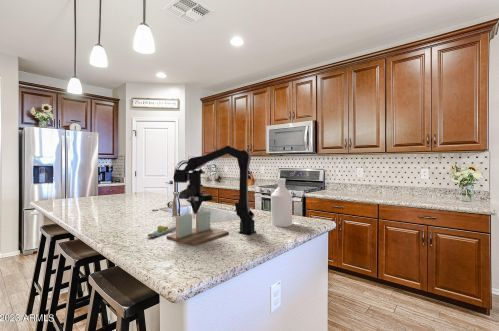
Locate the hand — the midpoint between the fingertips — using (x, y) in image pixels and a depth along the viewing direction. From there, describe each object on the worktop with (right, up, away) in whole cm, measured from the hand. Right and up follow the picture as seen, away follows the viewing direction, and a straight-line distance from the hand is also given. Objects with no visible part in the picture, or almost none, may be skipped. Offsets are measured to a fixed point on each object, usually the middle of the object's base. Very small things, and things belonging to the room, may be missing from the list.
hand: (195, 213), depth 134 cm
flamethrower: (-14, -9, 0) cm, 17 cm away
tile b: (-3, -8, -13) cm, 15 cm away
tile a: (+4, -7, -3) cm, 9 cm away
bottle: (+45, -8, +13) cm, 48 cm away
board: (+3, -9, -10) cm, 13 cm away
